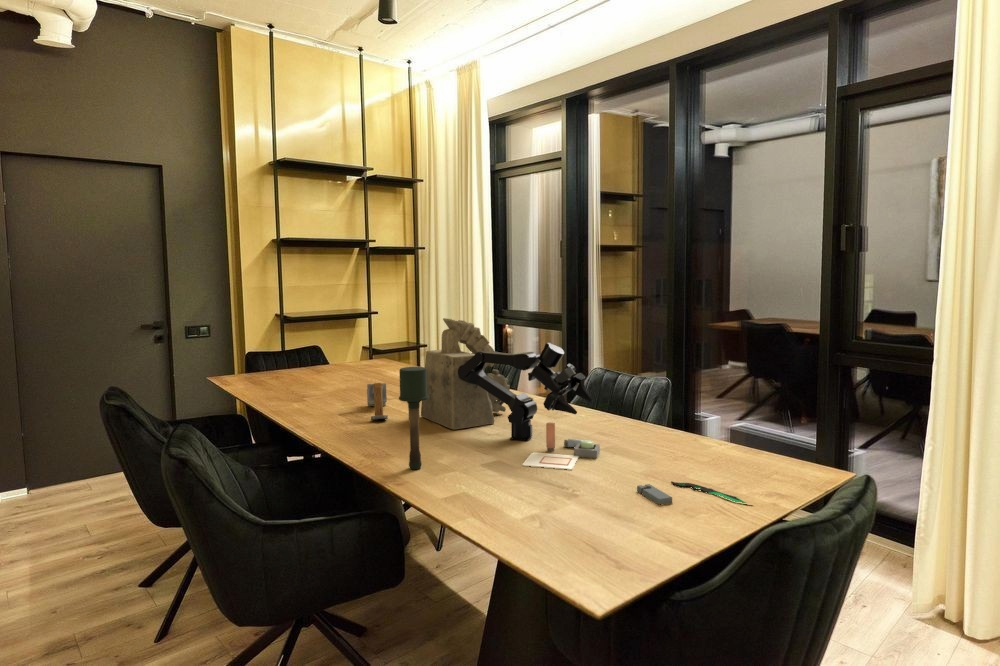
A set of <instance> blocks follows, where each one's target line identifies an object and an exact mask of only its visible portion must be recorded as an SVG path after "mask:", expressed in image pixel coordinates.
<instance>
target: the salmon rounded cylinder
mask: <svg viewBox="0 0 1000 666" xmlns="http://www.w3.org/2000/svg"><path fill="white" fill-rule="evenodd" d="M545 424H546V427H545V429H546V431H545V432H546V433H545V435H546V436H545V437H546V439H545V440H546V441H545V443H546V444H545V445H546V447H545V448H546V451H547V452H549V451H553V452H555V448H556V424H555V422H551V421H550V422H546V423H545Z"/></svg>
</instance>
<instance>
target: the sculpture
mask: <svg viewBox="0 0 1000 666" xmlns="http://www.w3.org/2000/svg"><path fill="white" fill-rule="evenodd" d="M442 321H443V322H444V324H445V325H446V326H447V329H444V330H443V331H442V333H441V349H433V350H432V349H431V350H427V351H425V361H424V368H426V369H427V395H428V399H427V400H423V401H421V406H420V417H423V418H424V419H426V420H429V421H431V422H434V423H436V424H439V425H441V426H442V427H446V428H448V429H450V430H453V431H455V430H459V429H467V428H473V427H480V426H487V425H492V424H495V422H496V421H495V417H494V413H499V412H500V411H501V412H506V410H507V408H506V407H505V406H504V404H505V403H504V402H502V401H501V400H499V399H498V398H496V397H495V396H493V395H492V394H490V393H489V392H487V391H486V390H484V389H483V388H481V387H480V386H478V385H475V384H471V383H467V382H465V381H463V380H461V379H460V378H459V377H458V368H459V367H460V366H461V365H464V364H465V363H466V362H467V361H468V360H470V359H471V358H472V357H473V356H474V355H475V354H476V353H477V352H480V351H488V352H495V350H494V347H492V346H491V345H490V341H489V340H488V339H487V338H486V337H485V335H483V334H482V333H481V329H480V327H475V323H473V322H467V321H465V320H463V319H462V320H461V319H459V320H455V319H452V318H447V317H446V318H445V317H444V318H442ZM459 343H460V344H463V345H465V347H466V348H467V350H469V352H467V351H462V350H461V347H460V344H459ZM494 365H495V364H494V363H486V364H485V366H484V368H483V371H484V373H485V374H486V375H487V376H488V377H490V378H491V379H493V380H494V381H496V382H497V383H499V384H500V385H502V386H503V387H505V388H507V389H508V390H510V386H511V385H510V384H508V383H509V379H508V378H507V377H505V376H504V375H503V374H500V370H498V369H494V368H493V369H492V370H491V373H486V372H485V370H486V368H487V367H490V368H492V367H493V366H494ZM510 391H511V390H510ZM493 412H494V413H493Z"/></svg>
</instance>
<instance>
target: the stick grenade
mask: <svg viewBox="0 0 1000 666" xmlns="http://www.w3.org/2000/svg"><path fill="white" fill-rule="evenodd" d="M427 399H428V395H427V369H426V368H425V366H424V367H423V366H404V367H402V368H400V369H399V396H398V400H399V401H401V402H406V403H407V407H408V421H409V443H410V444H409V447H410V449H409V454H408V455H409V456H408V457H409V459H408V461H409V462H408V467H409V469H410V470H412V469H413V470H412V471H416V470H415V469H418V470H421V467H422V456H421V455H422V454H421V451H420V417H421V414H420V408H421V406H420V403H421V402H422V401H423V400H427Z"/></svg>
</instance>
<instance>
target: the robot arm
mask: <svg viewBox="0 0 1000 666" xmlns="http://www.w3.org/2000/svg"><path fill="white" fill-rule="evenodd" d="M564 354H565V350H563V348H562V347H561V346H557V345H555V344H552V343H551V342H546V343H545V344H544V347H543V349H542V351H540V354H536V352H534V351H526V352H518V353H508V352H507V353H506V352H498V351H494V352H488V351H480V352H477V353H476V354H475V355H474V356H473V357H472V358H471V359H470V360H468V361H467V362H466V363H465V364H464V365H461V366H460V367H459V368H458V377H459V378H460V379H461V380H463V381H465V382H467V383H471V384H475V385H478V386H480V387H481V388H483V389H484V390H486V391H487V392H489V393H490V394H492V395H493V396H495V397H496V398H498V399H499V400H501V401H502V402H504V403H503V404H505V405H507V407H508V408H509V410H510V412H511V413H510V414H508V415H507V419H508V422H509V423H511V424H510V425H511V427H510V429H511V430H510V431H511V432H510V433H511V435H510V436H511V437H510V438H509V439H510V440H512V441H513V440H514V441H526V442H527V441H530V439H531V438H532V437H533V424H532V423H531V420H533V419H534V416H535V415H536V414H537V411H538V405H537V402H536V401H535V400H534V398H533V397H531V396H529V395H528V394H526V392H523V393H519V394H516V393H514V392H513V391H511V390H508V389H507V388H505V387H503V386H502V385H500V384H499V383H497V382H496V381H494V380H493V379H491V378H490V377H488V376H487V375H486V374H487V373H486V372H485V370H484V371H483V368H484V366H485V364H486V363H494V365H495V364H496V365H504V366H511V367H512V368H514V369H516V370H517V369H518V370H520V371H529V370H532V371H530V372H528V373H527V377H528V378H527V380H528V381H529V382H532V381H534V380H537V381H538V382H540V384H541V385H543V386H544V388H543V389H544V390H545V391H548V390H549V391H550V392H549V393H548V394H547V395H546V396H545V398H544V402H543V407H544V408H545V410H547V411H549V412H550V411H559V412H564V413H568V414H572V415H577V414H578V411H577V410H576V409H575V408H574V407H573V406H572V405H571V404H570V403H569V402H568V401H566V400H565V397H564V396H565V395H566V394H568V392H570V391H571V392H573V394H574V395H576V396H577V397H579V398H582V399H583V400H585V401H587V402H588V403H589V402H590V403H593V401H594V399H593V398H592V396H591V394H590V392H589V391H588V390H587V387H586V385H585V382H586V379H585V378H586V375H584V374H583V373H582V372H579V373H578V372H577V373H576V367H575V366H574V365H573V364H571V363H568V364H567V365H565V366H564V370H562V371H558V370H557V371H556V372H555V371H554V370H553V369H552V368H557V366H558V364H559V363H560V361H561V359H562V358H563V357H564ZM484 372H485V373H484Z"/></svg>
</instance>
